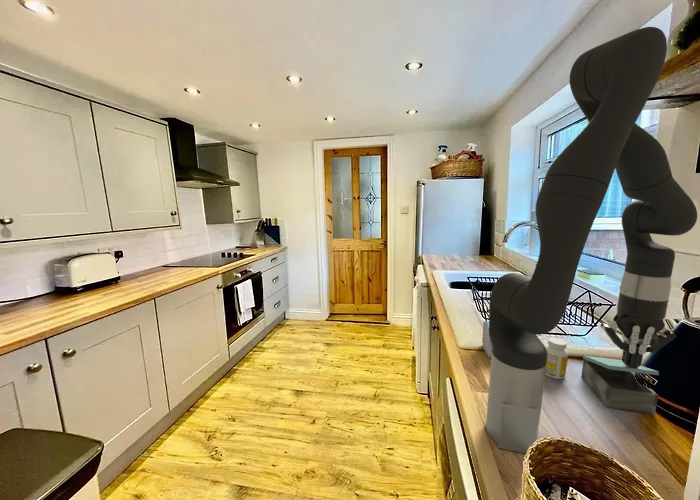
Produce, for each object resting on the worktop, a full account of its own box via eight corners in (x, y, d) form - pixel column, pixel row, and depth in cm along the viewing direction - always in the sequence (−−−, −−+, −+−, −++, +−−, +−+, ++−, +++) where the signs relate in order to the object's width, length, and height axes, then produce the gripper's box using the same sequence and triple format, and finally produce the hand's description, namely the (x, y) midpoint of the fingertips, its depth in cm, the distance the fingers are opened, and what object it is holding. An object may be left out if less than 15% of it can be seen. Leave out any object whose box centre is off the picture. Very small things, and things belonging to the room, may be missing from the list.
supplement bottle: (545, 377, 79) (549, 344, 77) (538, 366, 84) (542, 335, 82) (568, 381, 77) (573, 347, 75) (560, 369, 82) (564, 337, 81)
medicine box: (503, 359, 88) (506, 332, 86) (487, 358, 89) (489, 331, 87) (496, 346, 95) (498, 321, 94) (481, 345, 96) (483, 320, 95)
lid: (658, 375, 64) (658, 371, 64) (609, 369, 67) (608, 365, 67) (624, 363, 75) (624, 360, 76) (583, 358, 78) (583, 355, 78)
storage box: (654, 415, 65) (658, 395, 64) (605, 408, 67) (608, 388, 66) (622, 382, 76) (625, 365, 75) (581, 377, 79) (583, 360, 78)
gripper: (615, 297, 61) (604, 371, 65) (697, 302, 58) (680, 381, 61) (597, 286, 69) (587, 354, 72) (669, 290, 65) (655, 361, 68)
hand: (630, 366), depth 66 cm, fingers closed
